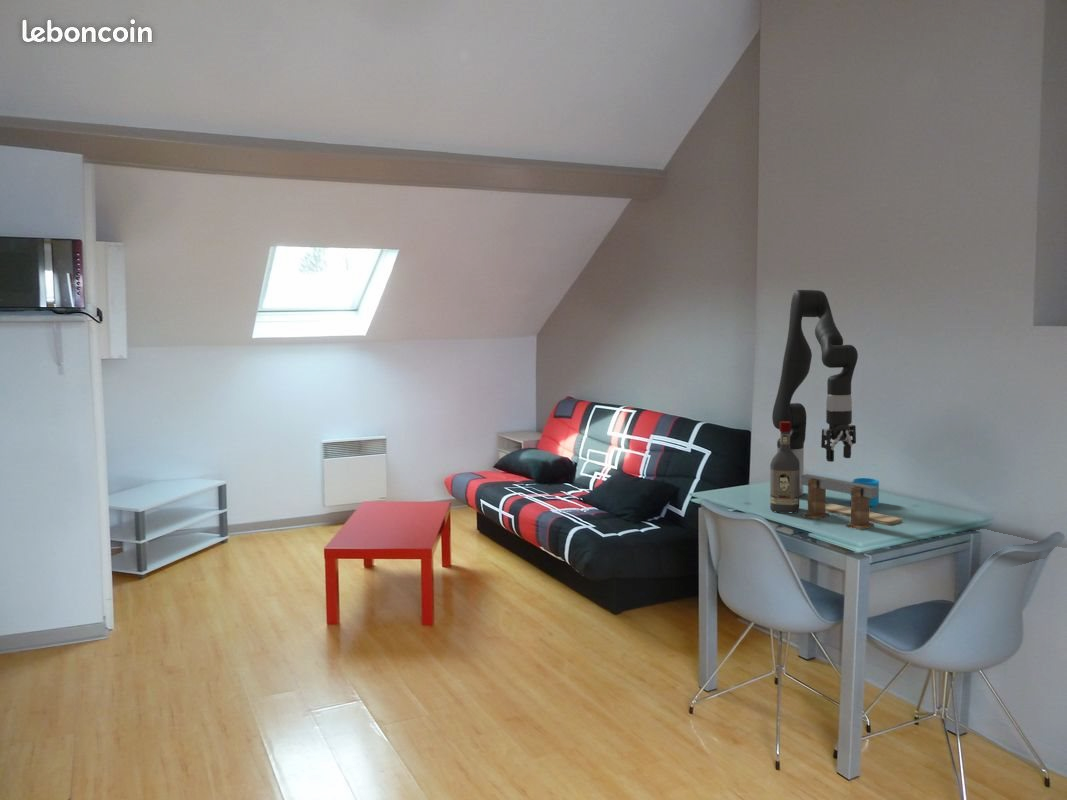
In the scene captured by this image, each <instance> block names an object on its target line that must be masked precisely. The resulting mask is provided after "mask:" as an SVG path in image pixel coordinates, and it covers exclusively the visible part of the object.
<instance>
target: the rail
mask: <svg viewBox="0 0 1067 800" xmlns="http://www.w3.org/2000/svg"><path fill="white" fill-rule="evenodd" d="M808 479H812V480H817V488H822V489H826V491H827V490H828V491H833V492H837V493H844V494H849V495H850V494H851V487H855V488H860V489H861V496H863V497H868V498H875V497H878V487H875V486H869V485H864V484H858V483H853V482H852V481H846V480H841V479H835V478H830V477H824V476H820V475H819V476H818V475H813V474H808V473H806V474H804V475H801V484H802V485H803V486H807V487H808Z"/></svg>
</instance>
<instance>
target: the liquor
mask: <svg viewBox="0 0 1067 800" xmlns="http://www.w3.org/2000/svg"><path fill="white" fill-rule="evenodd" d="M790 431H791V422H789V421H782V422H780V429H779V432H780V438H781V439H780V438H779V439H780V450H779V451H778V453H777V452H776V454H775V455H774V456H773V457H772V459H771V462H770V464H769V465H770V469H769V470H770V471H769V472H770V475H769V476H770V479H769V481H770V482H769V485H770V487H769V489H770V490H769V492H770V493H769V496H770V497H769V498H770V499H769V501H770V502H769V505H770V506H769V507H770V511H771V510H772V511H771V512H773V511H776V512H797V513H798V512H799V510H800V496H799V480H800V462H799V459H798V458H797V457H796V456H795V455H794V453H793V452H792V451H791V447H790ZM776 512H775V513H776Z"/></svg>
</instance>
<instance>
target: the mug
mask: <svg viewBox="0 0 1067 800" xmlns="http://www.w3.org/2000/svg"><path fill="white" fill-rule="evenodd" d="M851 482H853V483H858V484H864V485H869V486H875V487H878V497H875V498H870V504H869V506H872V507H877V506H879V502H880V501H879V496H880V494H879V491H880V480H879V479H876V478H869V477H857V478H854V479H853V480H852V481H851ZM849 495H850V496H851V494H849ZM876 505H877V506H876Z"/></svg>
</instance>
